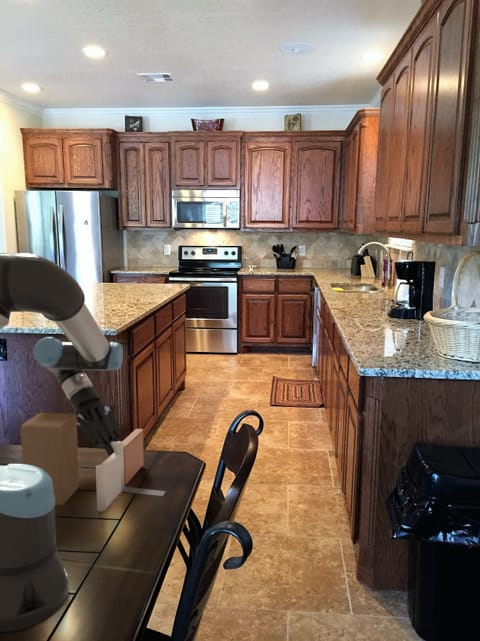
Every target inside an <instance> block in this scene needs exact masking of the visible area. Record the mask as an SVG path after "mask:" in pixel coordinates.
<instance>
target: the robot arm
mask: <svg viewBox="0 0 480 641" xmlns="http://www.w3.org/2000/svg"><path fill="white" fill-rule="evenodd" d="M85 301H86V297H85V293H84V291H83V289H82V287H81V285H80V284H79V282H78V281H77V280H76V279H75V277H73V276H72V275H71V274H70V273H69V272H68V271H67V270H65V269H64V268H63V267H62V266H60V265H58V264H56V263H55V262H54V261H51V260H49V259H47V258H46V257H43V256H41V255H38V254H34V253H29V252H17V253H15V252H0V330H2V329H4V328H5V327H6V326H8V325H9V323H10V319H11V318H10V317H11V313H16V312H17V313H23V312H26V313H27V312H28V313H37V314H42V316H43V317H44V318H45V319H47V320H49V321H51V322H54V323H55V324H56V325H57V327H58V328H59V329H60V331H61V332H62V333H63V334H64V336H65V337H66V338H67V339H68V341H61V340H60V339H57V338H55V337H54V336H46V337H43V338H41V339H39V340H38V341H37V342H36V343H35V345H34V347H33V357H34V359H35V360H36V361H37V362H38V364H39V365H40V366H42V367H44V368H45V369H47V371H49V372H51V373H52V374H54V376H55V378H56V380H57V381H58V383H59V384H60V386H61V388H62V390H63V392H64V394H65V396H66V398H67V399H68V400H69V403H70V404H71V406H72V408H73V410H74V411H75V412H76V418H77V429H78V428H79V430H80V431H81V432H82V433H83V434H84V436H86V438H87V439H88V440H89V441H90V443H92V444H93V446H94V447H95V448H97V449H99V448H101V449H102V450H105V452H106V453H107V456H108V457H110V456H111V455H112V454H113V453H114V444H115V443H116V442H117V441H119V439H120V437H121V436H122V432H121V430H120V427H119V424H118V420H117V418H116V415H115V407H114V405H110V406H106V405H105V404H104V402H102V401H101V398H100V395H99V393H98V391H97V390H96V388H95V387H94V386H93V383H92V381H91V380H90V378H89V377H88V374H87V373H86V372H85V371H106V372H107V371H117V370H119V369H121V367H122V365H123V360H124V349H123V345H122V344H121V342H114V341H108V340H107V338H106V336H105V335H104V333H103V331H102V329H101V328H100V326H99V325H98V323H97V321H96V320H95V318H94V316H93V315H92V313H91V312H90V310H89V308H88V306H87V305H86V303H85ZM56 528H57V527H56V505H55V495H54V490H53V483H52V479H51V477H50V476H49V475H48V474H47V472H45V471H44V470H43V469H41V468H39V467H36V466H33V465H28V464H23V463H7V465H0V632H1V633H3V632H4V633H6V632H7V633H8V632H16V631H21V630H25V629H28V628H30V627H34V626H35V625H38V624H40V623H43V622H44V621H45V620H47V619H49V618H51V616H53V615H54V614H55V613H57V612H58V611H59V610H60V609H61V608H62V607H63V606H64V604H65V602H66V601H67V599H68V597H69V591H70V587H69V585H70V584H69V583H70V582H69V575H68V573H67V571H66V569H65V567H64V565H63V562H62V559H61V557H60V554H59V553H58V550H57V531H56Z"/></svg>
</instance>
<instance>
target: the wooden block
mask: <svg viewBox="0 0 480 641" xmlns="http://www.w3.org/2000/svg"><path fill="white" fill-rule="evenodd" d="M76 417H77V414H74V413H63V412H62V413H60V412H59V413H58V412H40V413H37V414H36V415H35V416H33V417H31V418H30V419H29V420H27V421H26V422H24V423H23V424H22V425H21V427H20V440H21V441H20V443H21V459H22V460H21V461H22V464H28V465H33V466H36V467H39V468H41V469H43V470H44V471H45V472H47V474H48V475H49V476H50V477H51V479H52V483H53V490H54V495H55V506H63V505H65V504H66V503H67V502H68V500H69V499H70V498H71V497H72V496H73V495H74V493H75V492H76V491H77V490H78V488H79V487H80V473H79V451H78V450H79V448H78V427H77V418H76Z"/></svg>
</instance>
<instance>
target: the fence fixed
mask: <svg viewBox="0 0 480 641" xmlns="http://www.w3.org/2000/svg"><path fill="white" fill-rule="evenodd" d="M123 449H124V444H123V442H122V441H120V440H118V441H117V442H116V443H115V444H114V453H113V454H112V455H111V456H108V457H107V458H106V459H105V460H104V461H103V462H102V463H100V464H97V465H96V466H95V482H96V483H95V485H96V510H97V512H104V511H106V510H107V509H106V508H107V507H108V506H109V505H110V504H111V503H112V501H113V500H114V499H115V498H116V497H117V496H118V495H119V493H120V492H121V491H122V490H124V486H125V485H124V452H123ZM119 496H120V495H119ZM119 496H118V497H119ZM118 497H117V498H118ZM117 498H116V499H117ZM112 504H113V503H112ZM112 504H111V505H112ZM111 505H110V506H111Z"/></svg>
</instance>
